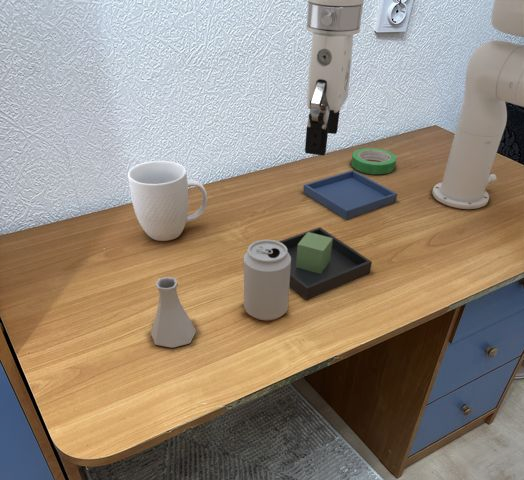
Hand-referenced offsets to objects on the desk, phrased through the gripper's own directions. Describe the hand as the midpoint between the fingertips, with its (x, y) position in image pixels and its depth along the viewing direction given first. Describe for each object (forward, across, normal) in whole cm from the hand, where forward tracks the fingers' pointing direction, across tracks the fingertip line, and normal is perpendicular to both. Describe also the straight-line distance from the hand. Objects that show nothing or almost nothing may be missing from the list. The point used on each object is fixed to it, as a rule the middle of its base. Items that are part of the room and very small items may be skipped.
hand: (321, 142), depth 82 cm
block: (+22, -1, -1) cm, 22 cm away
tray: (+22, +30, -3) cm, 37 cm away
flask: (+23, -27, +16) cm, 39 cm away
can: (+23, -16, +4) cm, 29 cm away
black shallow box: (+23, -1, -1) cm, 23 cm away
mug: (+23, +2, +30) cm, 38 cm away
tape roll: (+22, +49, -6) cm, 54 cm away
